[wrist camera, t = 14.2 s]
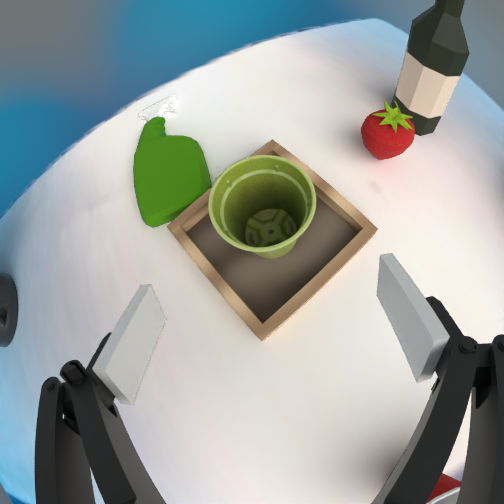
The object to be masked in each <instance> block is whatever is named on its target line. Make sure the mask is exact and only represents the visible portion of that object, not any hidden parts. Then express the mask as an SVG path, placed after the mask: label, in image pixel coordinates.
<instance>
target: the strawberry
mask: <svg viewBox="0 0 504 504" xmlns="http://www.w3.org/2000/svg"><path fill="white" fill-rule="evenodd" d="M394 101H395V100H394ZM395 103H396V101H395ZM384 104H385V110H379V111H376V112H373V113H371V114H370V115H369V116H367V118H366V119H365V121H364V123H363V125H362V127H361V134H362V139H363V143H364V145H365V147H366V148H367V149H368V150H369V151H370V152H371V154H372V155H374V156H375V157H376V158H378V159H380V160H383V159H389V158H392V157H395V156H398V155H400V154H401V153H403V152H404V151H405V150H406V149H407V148H408V147H409V146H410V145H411V144H412V142H413V140H414V134H415V128H414V125H413V124H412V122H411V121H410V120H409V118H413V117H411V116H408V115H405V114H402V113H401V112H400V110H399V108H398V105H397V103H396V105H397V107H396V108H394V109H392V108H391V107H390V106H389V105H388V103H387V102H386V101H384ZM398 110H399V112H398Z"/></svg>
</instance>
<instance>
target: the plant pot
mask: <svg viewBox="0 0 504 504" xmlns="http://www.w3.org/2000/svg"><path fill="white" fill-rule="evenodd" d="M208 209H209V215H210V219H211V221H212V224H213V226H214V228H215V229H216V231H217V232H218V233H219V235H220V236H221V237H222V238H223V239H224V240H226V241H227V242H228V243H230V244H231V245H233V246H235V247H237V248H239V249H242V250H246V251H250V252H253V253H254V254H256V255H258V256H260V257H263V258H267V259H273V258H278V257H281V256H283V255H285V254H287V253H288V252H289V251H290V250H291V249H292V248H293V247H294V245H295V243H296V241H297V239H298V237H300V236H301V235H302V234H303V232H304V231H305V230H306V229H307V228H308V226H309V224H310V223H311V221H312V218H313V216H314V212H315V209H316V193H315V189H314V186H313V183H312V181H311V179H310V178H309V176H308V175H307V173H306V172H305V171H304V170H303V169H302V168H300V167H299V166H298V165H297V164H295V163H294V162H292V161H290V160H288V159H285V158H283V157H278V156H271V155H257V156H252V157H249V158H245V159H242V160H240V161H238V162H236V163H234V164H233V165H231V166H230V167H228V168H227V169H226V170H225V171H224V172H223V173H222V174H221V175H220V176H219V177H218V179H217V180H216V182H215V183H214V185H213V187H212V189H211V192H210V196H209V203H208ZM265 213H271V215H268V216H264V217H262V218H261V215H263V214H265ZM288 222H290V223H291V224H292V226H293V232H291V231H290V226H289V223H288ZM269 230H273V233H272V234H270V233H269ZM250 233H252V236H253V241H254V244H252V243H251V242H250V238H249V235H250Z"/></svg>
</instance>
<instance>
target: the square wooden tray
mask: <svg viewBox="0 0 504 504" xmlns="http://www.w3.org/2000/svg"><path fill="white" fill-rule="evenodd" d="M257 155H271V156H278V157H283V158H285V159H288V160H290V161H292V162H294V163H295V164H297V165H298V166H299V167H300V168H302V169H303V170H304V171H305V172H306V173H307V175H308V176H309V178H310V179H311V181H312V183H313V186H314V189H315V193H316V209H315V212H314V216H313V218H312V221H311V223H310V224H309V226H308V228H307V229H306V230H305V231H304V232H303V234H302V235H301V236H300V237H298V239H297V241H296V243H295V245H294V247H293V248H292V249H291V250H290V251H289V252H288V253H287V254H285V255H283V256H281V257H278V258H273V259H267V258H263V257H260V256H258V255H256V254H254V253H253V252H250V251H246V250H242V249H239V248H237V247H235V246H233V245H231V244H230V243H228V242H227V241H226V240H224V239H223V238H222V237H221V236H220V235H219V233H218V232H217V231H216V229H215V228H214V226H213V224H212V221H211V219H210V215H209V209H208V203H209V196H210V192H211V189H212V187H213V186H212V187H211V188H210V189H209V190H208V191H207V192H205V193H204V194H203V195H202V196H201V197H199V198H198V199H197V200H196V201H195V202H194V203H192V204H191V205H190V206H189V207H188V208H187V209H186V210H184V211H183V212H182V213H181V214H180V215H179V216H178V217H177V218H175V219H174V220H173V221H172V222H171V223H170V224H169V225H168V226H167V227H168V229H169V230H170V231H171V232H172V234H173V235H174V236H175V238H176V239H177V240H178V242H179V243H180V244H181V245H182V247H183V248H184V249H185V251H186V252H187V253H188V254H189V256H190V257H191V258H192V259H193V261H194V262H195V263H196V264H197V266H198V267H199V268H200V269H201V271H202V272H203V273H204V274H205V276H206V277H207V278H208V279H209V280H210V282H211V283H212V284H213V285H214V287H215V288H216V289H217V290H218V291H219V293H220V294H221V295H222V296H223V297H224V299H225V300H226V301H227V302H228V303H229V305H230V306H231V307H232V308H233V309H234V310H235V312H236V313H237V314H238V315H239V316H240V317H241V319H242V320H243V321H244V322H245V323H246V324H247V326H248V327H249V328H250V329H251V330H252V331H253V332H254V334H255V335H256V336H257V337H258V338H259V339H260V340H261V341H264V340H265V339H266V338H267V337H269V336H270V335H271V334H272V333H273V332H274V331H275V330H277V329H278V328H279V327H280V326H281V325H282V324H283V323H284V322H286V321H287V320H288V319H289V318H290V317H291V316H292V315H293V314H294V313H296V312H297V311H298V310H299V309H300V308H301V307H302V306H303V305H304V304H305V303H306V302H307V301H309V300H310V299H311V298H312V297H313V296H314V295H315V294H316V293H317V292H318V291H319V290H320V289H321V288H322V287H323V286H324V285H325V284H326V283H327V282H328V281H329V280H330V279H332V278H333V277H334V276H335V275H336V274H337V273H338V272H339V271H340V270H341V269H342V268H343V267H344V266H345V265H346V264H347V263H348V262H349V261H350V260H351V259H352V257H353V256H354V255H355V254H356V253H357V252H358V251H359V250H360V249H361V248H362V247H363V246H364V245H365V244H366V243H367V242H368V241H369V240H370V239H371V238H372V237H373V235H374V234H375V232H376V231H377V229H378V228H377V227H376V226H374V225H373V224H372V223H371V222H370V221H369V220H368V219H367V218H366V217H365V216H364V215H363V214H362V213H361V212H360V211H359V210H357V209H356V208H355V207H354V206H353V205H352V204H351V203H350V202H349V201H348V200H346V199H345V198H344V197H343V196H342V195H341V194H340V193H339V192H337V191H336V190H335V189H334V188H333V187H332V186H330V185H329V184H328V183H327V182H326V181H325V180H323V179H322V178H321V177H320V176H319V175H317V174H316V173H315V172H314V171H312V170H311V169H310V168H309V167H308V166H306V165H305V164H304V163H303V162H301V161H300V160H299V159H297V158H296V157H295V156H294V155H292V154H291V153H290V152H288V151H287V150H286V149H285V148H283V147H282V146H281V145H279V144H278V143H277V142H275V141H274V140H273V139H272V140H271V141H270V142H268V143H267V144H266V145H264V146H263V147H262V148H260V149H259V150H258V151H256V152H255V153H254V154H252V155H251V156H250V157H252V156H257ZM268 215H271V213H265V214H263V215H261V218H262V217H264V216H268ZM288 223H289V226H290V231H291V232H293V226H292V224H291V223H290V222H288ZM269 233H270V234H272V233H273V230H269ZM249 238H250V242H251V243H252V244H254V241H253V236H252V233H250V235H249Z"/></svg>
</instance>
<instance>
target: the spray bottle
mask: <svg viewBox="0 0 504 504" xmlns="http://www.w3.org/2000/svg"><path fill="white" fill-rule="evenodd" d="M175 100H177V97H176V95H173V96H171V97H168V98H165V99H163V100H161V101H159V102H157V103H155V104H153V105H151V106H149V107H148V108H146V109H145V110H143V111H142V112H141V113H140V114H138V115H139V117H140V118H141V119H145V120H147V123H146V124H145V126H144V128H143V131H142V133H141V136H140V139H139V142H138V146H137V149H136V152H135V155H134V166H133V172H134V187H135V193H136V198H137V203H138V206H139V210H140V213H141V216H142V219H143V221H144V222H145V223H146V224H147V225H149V226H151V227H157V226H159V225H162V224H164V223H166V222H169V221H171V220H173V219H175V218H177V217H178V216H179V215H180V214H181V213H182V212H183V211H184V210H186V209H187V208H188V207H189V206H190V205H191V204H192V203H194V202H195V201H196V200H197V199H198V198H199V197H201V196H202V195H203V194H204V193H205V192H207V191H208V190H209V189H210V188H211V183H210V176H209V172H208V169H207V165H206V162H205V158H204V155H203V151H202V149H201V148H200V146H199V144H198V142H197V141H195V140H194V139H192V138H190V137H186V136H166V134H165V133H164V130H165V127H164V126H163V125H164V123H165V119H164V118H163V117H162V116H163V114H164V113H165V112H166V111H169V112H173V113H177V110H174V109H173V108H172V107H170V106H171V102H173V101H175Z"/></svg>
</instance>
